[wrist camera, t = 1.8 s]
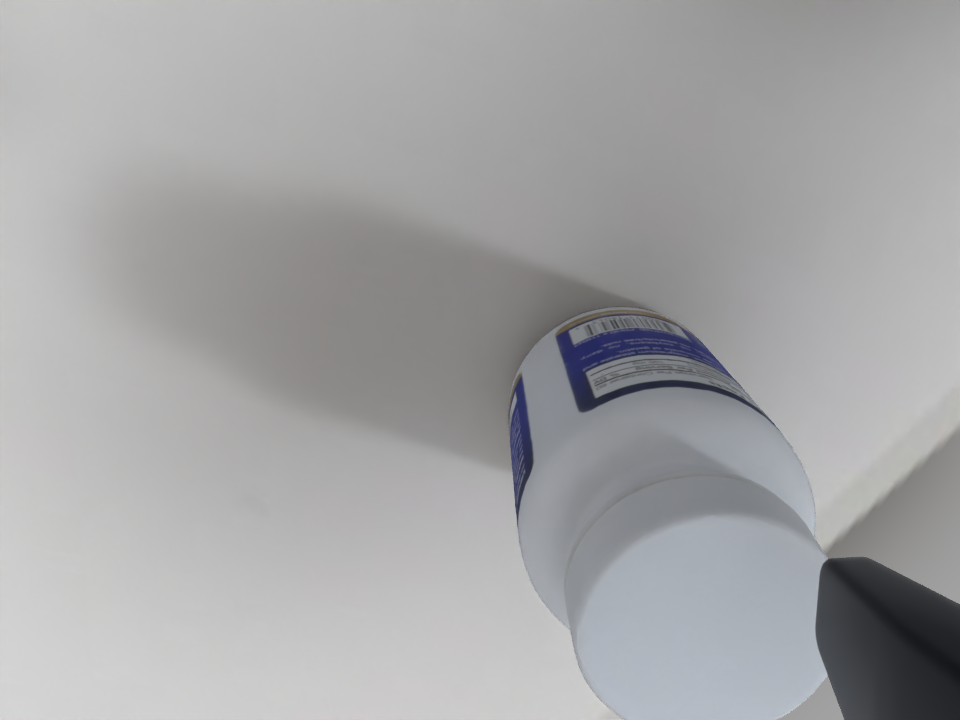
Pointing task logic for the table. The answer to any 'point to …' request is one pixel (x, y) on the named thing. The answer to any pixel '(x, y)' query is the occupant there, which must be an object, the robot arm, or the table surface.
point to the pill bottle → (664, 522)
